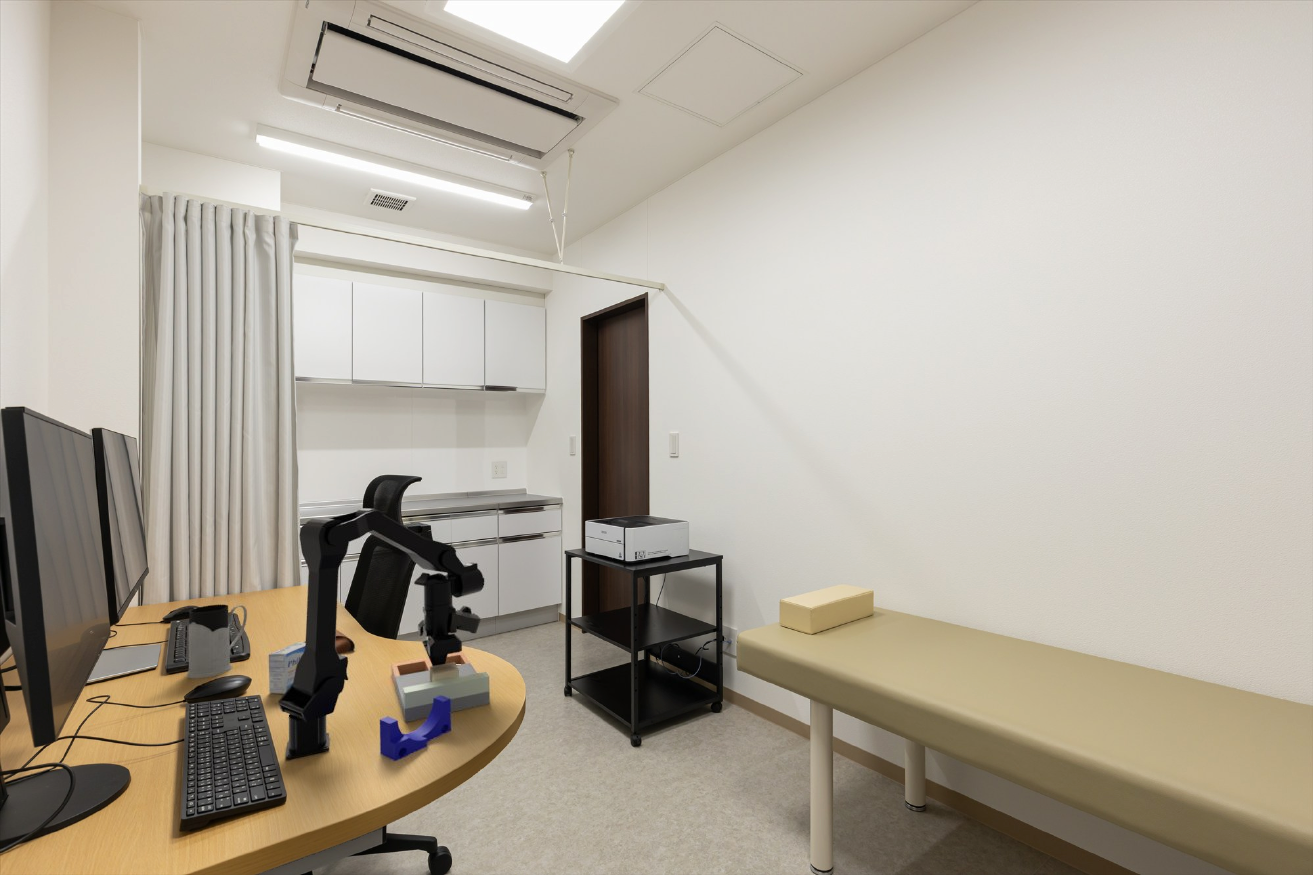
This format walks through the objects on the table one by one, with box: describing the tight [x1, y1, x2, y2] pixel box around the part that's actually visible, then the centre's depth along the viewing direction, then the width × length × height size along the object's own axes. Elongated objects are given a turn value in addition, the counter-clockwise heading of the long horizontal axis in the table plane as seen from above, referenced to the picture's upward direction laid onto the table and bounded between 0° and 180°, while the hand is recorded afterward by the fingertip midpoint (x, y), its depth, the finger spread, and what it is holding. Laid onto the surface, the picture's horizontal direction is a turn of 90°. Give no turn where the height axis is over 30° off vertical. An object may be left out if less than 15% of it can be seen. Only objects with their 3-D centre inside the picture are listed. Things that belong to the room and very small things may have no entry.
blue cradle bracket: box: [379, 695, 452, 762], centre depth 107 cm, size 12×4×6 cm, turn 145°
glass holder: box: [186, 604, 248, 679], centre depth 147 cm, size 9×14×15 cm, turn 166°
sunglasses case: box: [303, 629, 356, 655], centre depth 162 cm, size 18×7×7 cm, turn 45°
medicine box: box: [268, 642, 306, 695], centre depth 134 cm, size 8×4×9 cm, turn 168°
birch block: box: [430, 662, 459, 682], centre depth 125 cm, size 5×5×4 cm
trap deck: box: [390, 651, 491, 723], centre depth 131 cm, size 28×16×6 cm, turn 29°
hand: (439, 675), depth 129 cm, fingers closed
